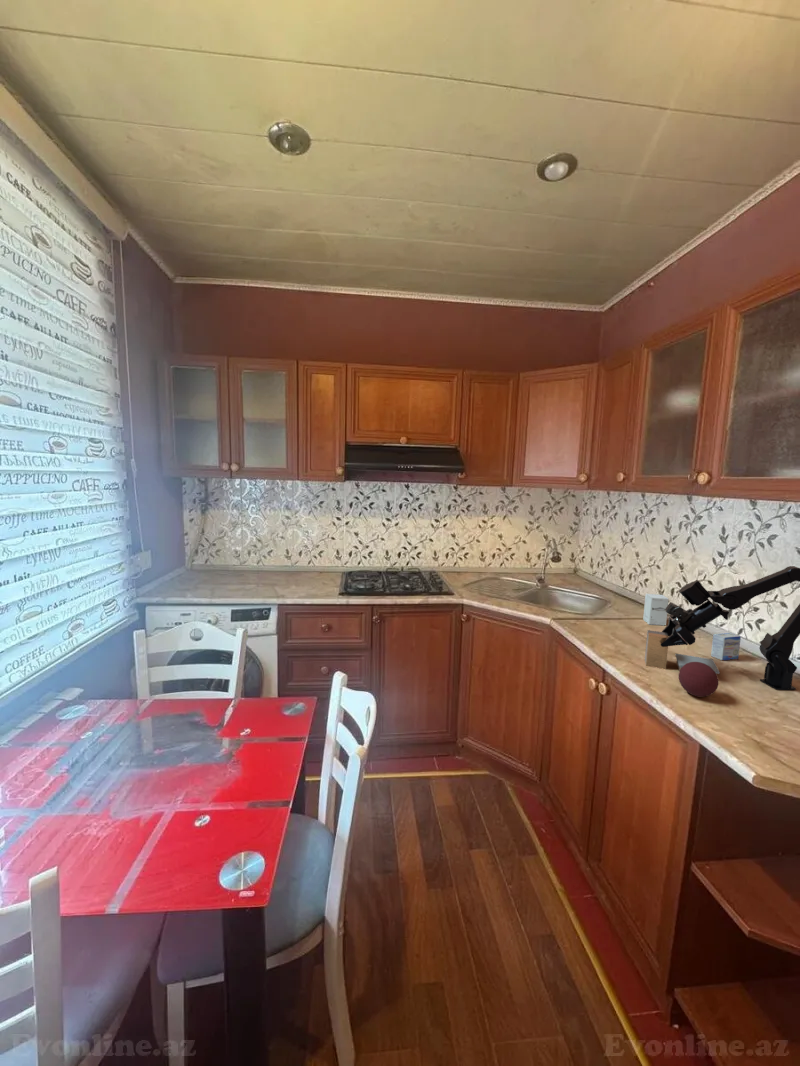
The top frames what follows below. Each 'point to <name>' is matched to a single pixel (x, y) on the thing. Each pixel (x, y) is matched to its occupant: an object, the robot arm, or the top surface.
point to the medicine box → (725, 646)
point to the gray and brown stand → (687, 659)
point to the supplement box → (655, 609)
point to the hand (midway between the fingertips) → (660, 641)
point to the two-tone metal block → (656, 649)
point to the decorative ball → (698, 679)
